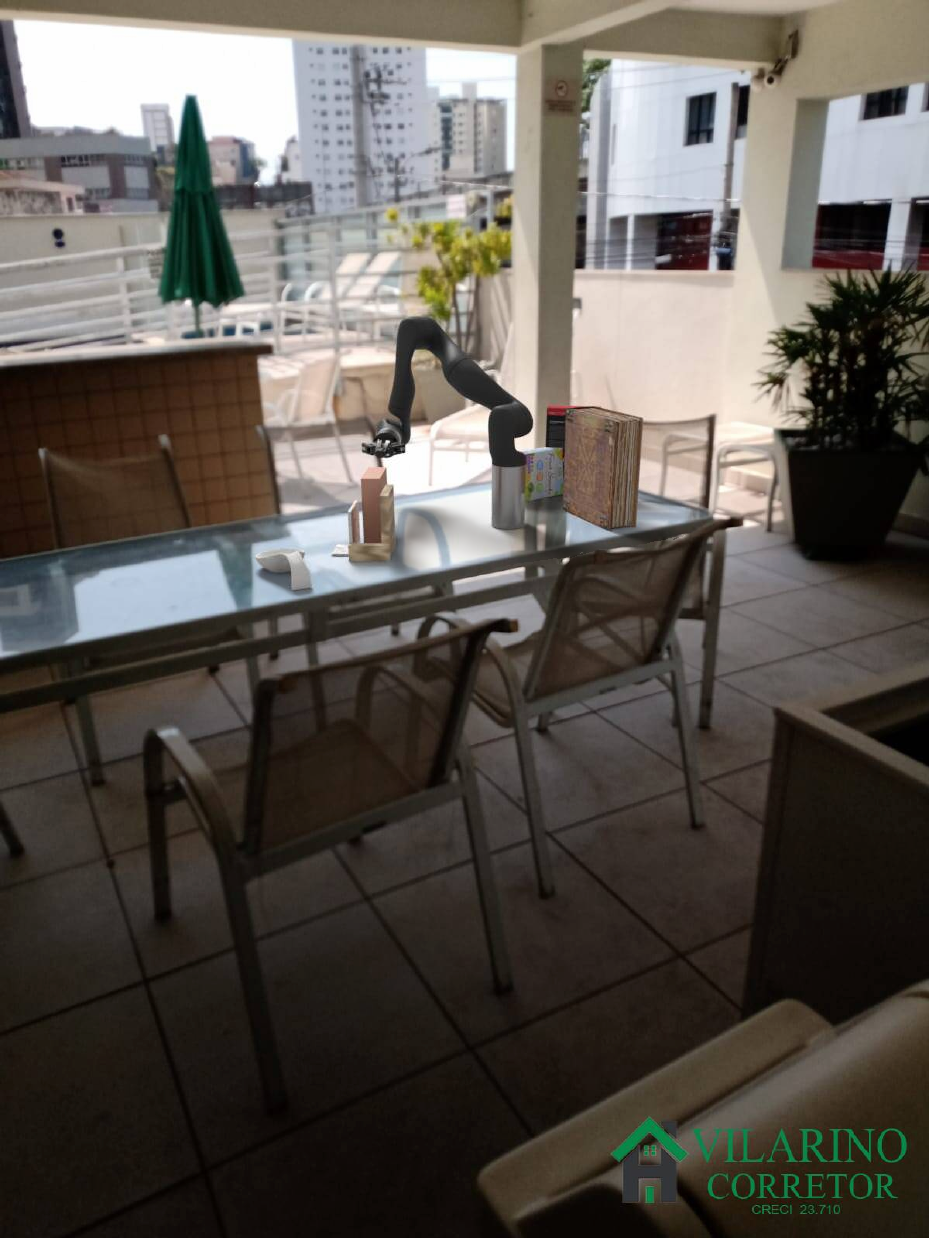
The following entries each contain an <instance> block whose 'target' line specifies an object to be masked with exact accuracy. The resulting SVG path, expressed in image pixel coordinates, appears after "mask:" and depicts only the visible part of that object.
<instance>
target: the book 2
mask: <svg viewBox="0 0 929 1238" xmlns="http://www.w3.org/2000/svg"><path fill="white" fill-rule="evenodd" d="M588 406H589V405H588ZM600 407H601V406H597V407H596V406H595V405H593V406H592V405H591V406H589V407H575V408H567V409H566V419H565V452H564V486H563V494H562V495H563V497H562V511H564V512H567V513H569V514H571V515H573V516H575V517H577V518H580V519H581V520H584V521H586V522H588V523H590V524H592V525H594V526H596V527H598V528H601V529H603V530H605V531H607V532H608V531H610V530H611V529H614V528H622V527H629V526H631V527H634V528H635V527H636V526H637V521H638V520H637V519H638V518H637V516H638V506H639V505H638V502H639V487H640V473H641V471H640V470H641V458H642V457H641V456H642V445H643V442H642V441H643V429H644V428H643V427H644V417H641V416H638V415H633V414H629V413H624V412H621V411H616V410H612V409H608V408H603V407H601V408H600Z"/></svg>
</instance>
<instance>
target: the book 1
mask: <svg viewBox="0 0 929 1238" xmlns="http://www.w3.org/2000/svg"><path fill="white" fill-rule="evenodd" d="M387 474H388V473H387V467H386V466H384V467H383V466H382V467H381V466H376V467H375V466H368V467H367V468H366V470H365V472H364V473H363V475H361V477H360V490H361V494H360V495H361V511H362V514H361V515H362V532H363V534H362V535H363V543H382V542H381V517H380V494H381V492H382V490H383V489H384V487H385V485H388V475H387Z"/></svg>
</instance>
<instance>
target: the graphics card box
mask: <svg viewBox="0 0 929 1238" xmlns="http://www.w3.org/2000/svg"><path fill="white" fill-rule="evenodd" d="M575 407H589V405H555V404H554V405H547V406H546V419H545V421H546V422H545V423H546V424H545V427H546V429H545V444H544V445H545V446H544V447H557V448H562V449H563V452H562V459H563V483H564V452H565V419H566V409H567V408H575ZM596 407H598V406H596ZM599 407H600V408H602V406H599Z"/></svg>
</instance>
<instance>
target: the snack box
mask: <svg viewBox="0 0 929 1238" xmlns="http://www.w3.org/2000/svg"><path fill="white" fill-rule="evenodd" d="M520 452H523V453H524V454H525V457H526V463H525V503H526V502H532V501H537V500H540V499H546V498H551V497H555V496H560V495H561V496H562V495H563V486H564V483H563V459H562V452H563V449H562V448H557V447H545V446H543V447H536V448H531V449H526V450H520Z"/></svg>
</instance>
